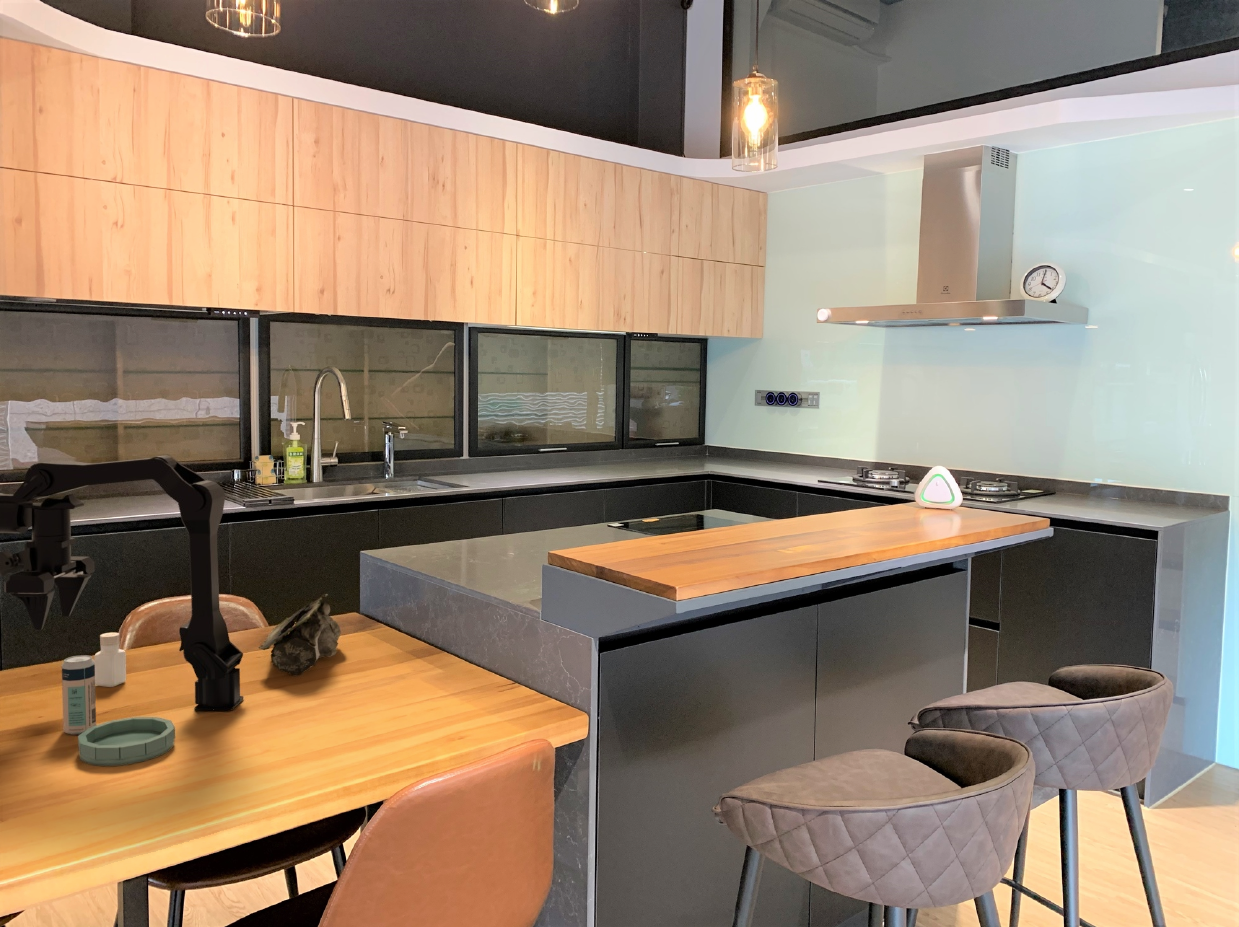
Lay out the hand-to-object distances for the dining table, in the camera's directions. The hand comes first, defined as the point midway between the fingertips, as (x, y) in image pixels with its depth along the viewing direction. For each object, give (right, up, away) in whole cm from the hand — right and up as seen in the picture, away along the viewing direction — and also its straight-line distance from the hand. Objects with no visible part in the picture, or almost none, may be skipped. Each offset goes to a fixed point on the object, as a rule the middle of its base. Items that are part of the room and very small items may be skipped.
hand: (52, 623), depth 162 cm
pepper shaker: (+3, -14, +14) cm, 20 cm away
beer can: (+10, -16, -10) cm, 21 cm away
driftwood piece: (+33, -14, +30) cm, 46 cm away
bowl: (+22, -17, -17) cm, 32 cm away
